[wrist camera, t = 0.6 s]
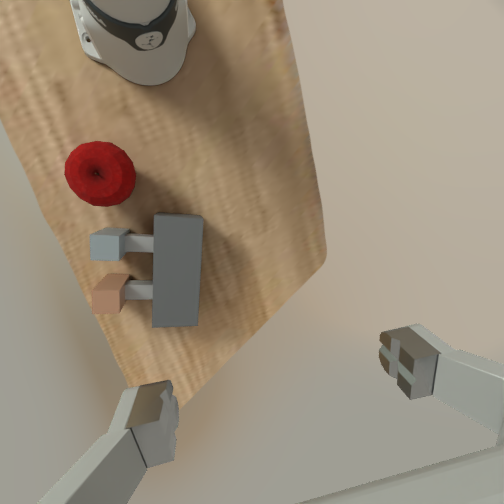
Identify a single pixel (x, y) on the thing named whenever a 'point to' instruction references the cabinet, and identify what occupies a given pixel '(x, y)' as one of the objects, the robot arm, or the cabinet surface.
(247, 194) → the cabinet surface
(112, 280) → the terracotta plug
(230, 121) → the cabinet surface
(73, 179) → the apple
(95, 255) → the slate plug
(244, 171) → the cabinet surface
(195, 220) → the socket block
